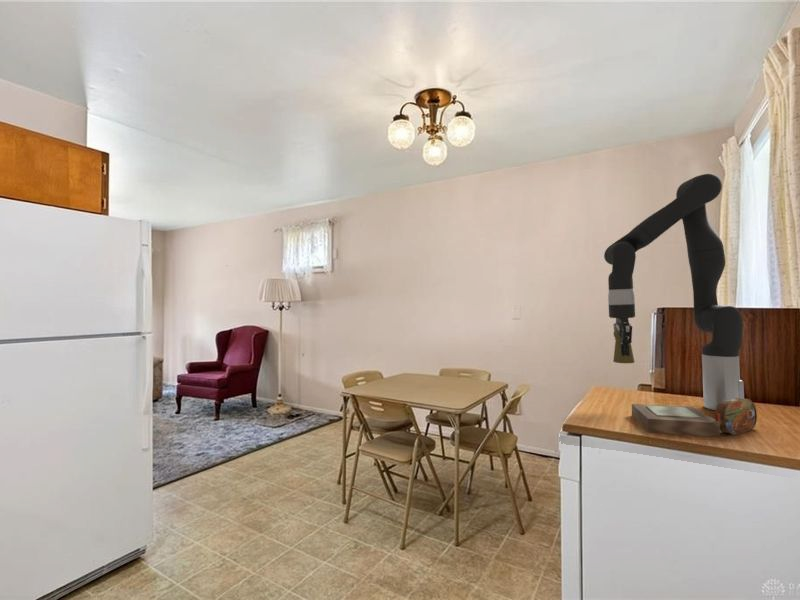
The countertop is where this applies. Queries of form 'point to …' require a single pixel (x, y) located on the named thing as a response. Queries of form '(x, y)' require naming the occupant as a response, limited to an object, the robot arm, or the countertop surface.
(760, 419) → the countertop surface
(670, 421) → the stand
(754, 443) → the countertop surface
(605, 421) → the countertop surface
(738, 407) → the tin
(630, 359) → the olive pepper mill
